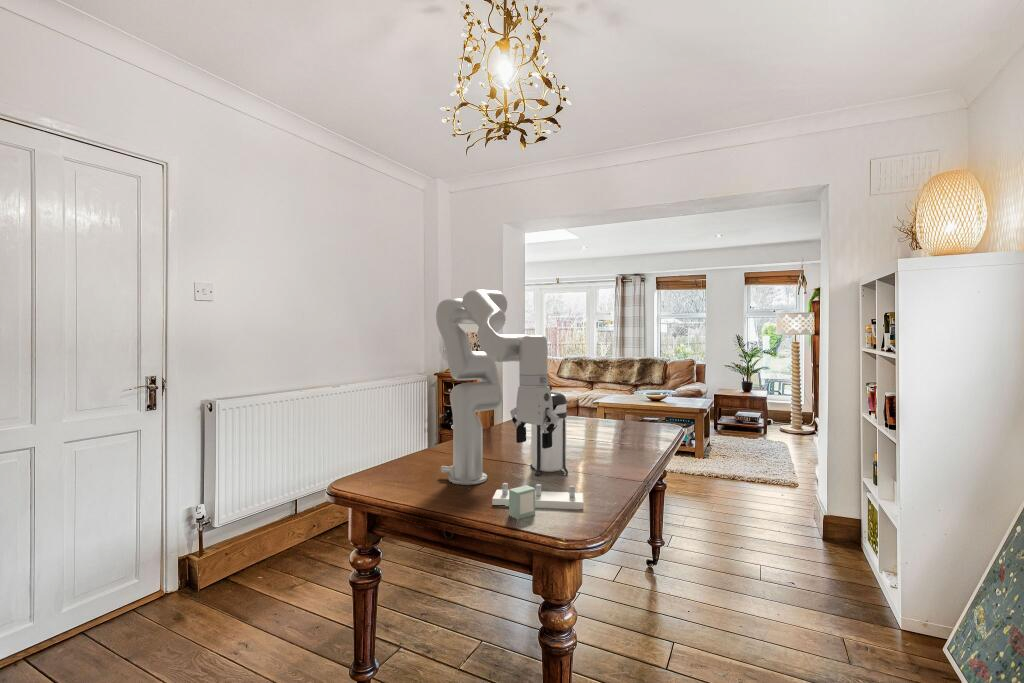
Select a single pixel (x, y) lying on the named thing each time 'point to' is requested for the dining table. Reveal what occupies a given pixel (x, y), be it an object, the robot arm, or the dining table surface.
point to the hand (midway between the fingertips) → (533, 444)
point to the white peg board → (544, 498)
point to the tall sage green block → (522, 501)
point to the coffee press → (556, 454)
